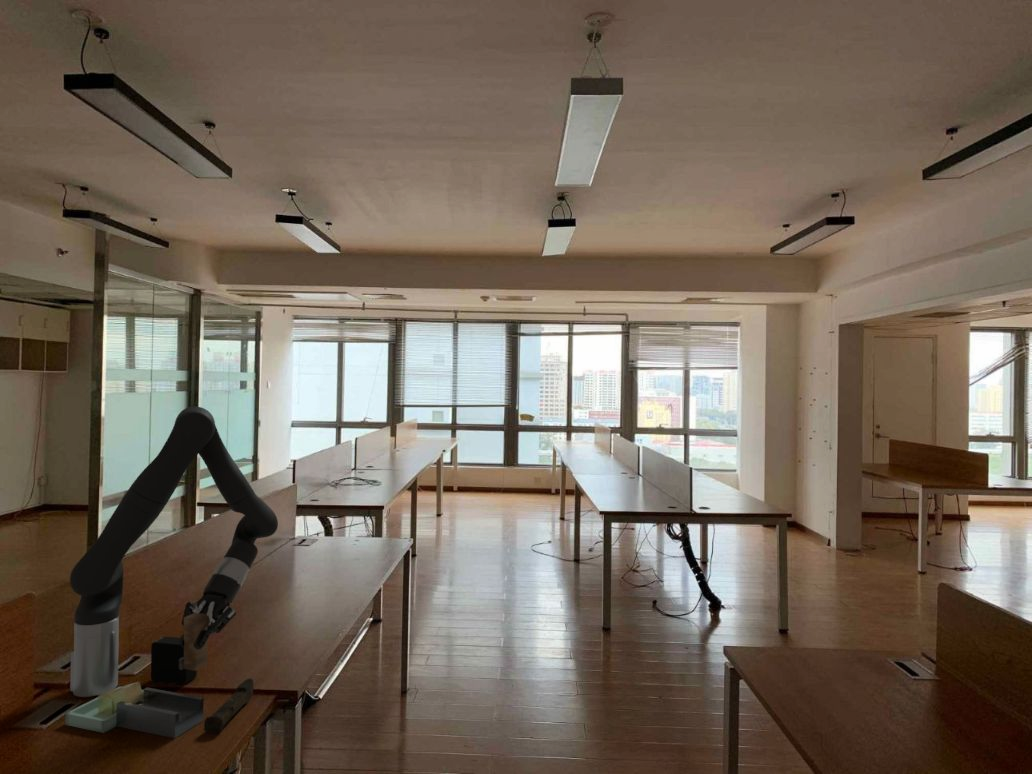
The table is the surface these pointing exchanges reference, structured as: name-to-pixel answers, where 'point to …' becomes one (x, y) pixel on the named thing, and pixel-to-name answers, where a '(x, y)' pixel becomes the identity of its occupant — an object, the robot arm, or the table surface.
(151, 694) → the slot rail
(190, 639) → the tan wooden block
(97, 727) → the tray
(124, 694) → the pale yellow cube
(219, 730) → the hand tool
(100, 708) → the tan cube
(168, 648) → the electronic device
